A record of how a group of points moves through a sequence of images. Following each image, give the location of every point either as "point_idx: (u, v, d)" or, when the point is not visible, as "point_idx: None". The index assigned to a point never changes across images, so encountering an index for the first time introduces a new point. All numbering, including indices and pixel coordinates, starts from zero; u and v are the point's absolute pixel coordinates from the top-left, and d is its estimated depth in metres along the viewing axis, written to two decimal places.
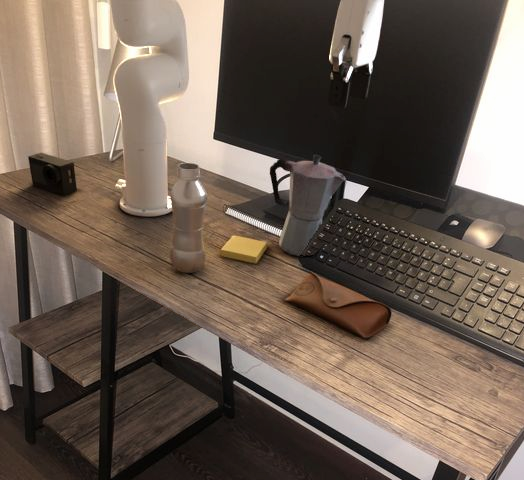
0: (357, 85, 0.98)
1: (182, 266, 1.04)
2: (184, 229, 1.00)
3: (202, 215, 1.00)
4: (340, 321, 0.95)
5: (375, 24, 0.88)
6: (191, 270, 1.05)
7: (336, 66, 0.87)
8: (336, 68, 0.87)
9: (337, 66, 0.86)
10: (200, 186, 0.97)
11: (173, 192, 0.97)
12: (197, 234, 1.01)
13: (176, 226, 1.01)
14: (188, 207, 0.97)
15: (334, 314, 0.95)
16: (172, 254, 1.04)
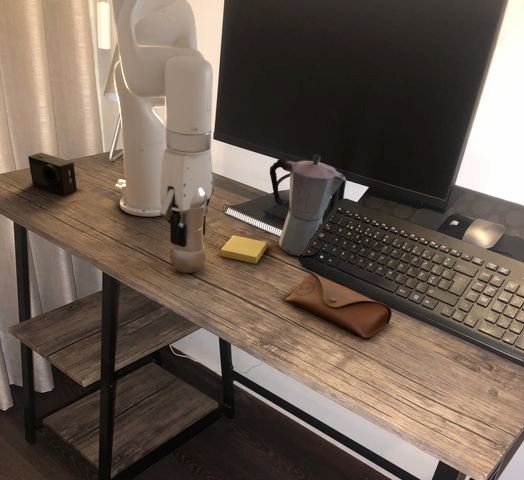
0: None
1: (182, 266, 1.04)
2: None
3: (202, 215, 1.00)
4: (340, 321, 0.95)
5: (200, 173, 0.96)
6: (191, 270, 1.05)
7: (168, 219, 0.96)
8: (169, 219, 0.96)
9: (168, 219, 0.96)
10: None
11: None
12: (197, 234, 1.01)
13: None
14: None
15: (334, 314, 0.95)
16: (172, 254, 1.04)
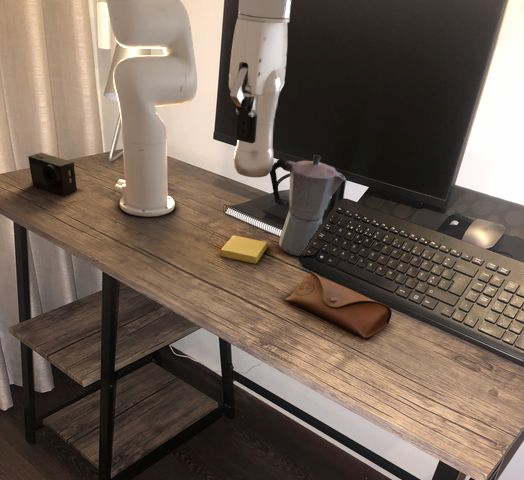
0: None
1: (248, 169, 0.91)
2: None
3: (275, 105, 0.87)
4: (340, 321, 0.95)
5: (276, 50, 0.82)
6: (258, 174, 0.91)
7: (238, 104, 0.83)
8: (239, 105, 0.83)
9: (239, 104, 0.83)
10: None
11: None
12: (267, 128, 0.88)
13: None
14: None
15: (334, 314, 0.95)
16: (237, 155, 0.91)
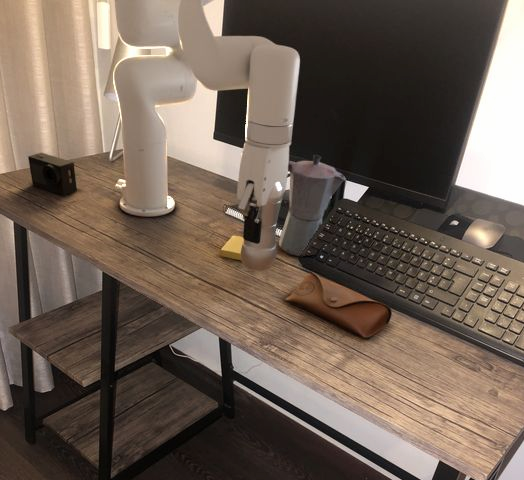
0: None
1: (254, 264, 1.01)
2: None
3: (278, 211, 0.96)
4: (340, 321, 0.95)
5: (279, 167, 0.92)
6: (263, 268, 1.01)
7: (245, 214, 0.93)
8: (246, 215, 0.93)
9: (246, 214, 0.92)
10: None
11: None
12: (271, 230, 0.98)
13: None
14: None
15: (334, 314, 0.95)
16: (243, 251, 1.01)
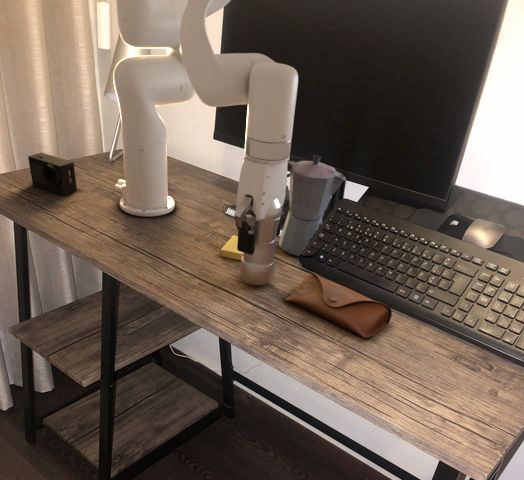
0: None
1: (253, 279, 1.02)
2: (258, 241, 0.98)
3: (276, 227, 0.98)
4: (340, 321, 0.95)
5: (278, 181, 0.94)
6: (261, 283, 1.03)
7: (239, 224, 0.92)
8: (239, 225, 0.92)
9: (240, 224, 0.92)
10: None
11: None
12: (270, 246, 1.00)
13: None
14: (264, 220, 0.96)
15: (334, 314, 0.96)
16: (243, 266, 1.02)
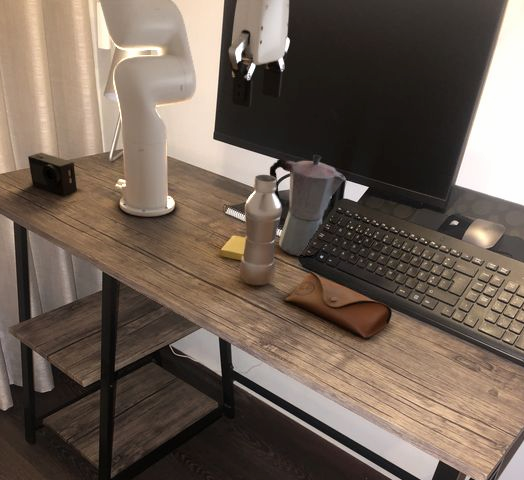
0: (269, 83, 0.94)
1: (253, 279, 1.02)
2: (257, 241, 0.98)
3: (276, 227, 0.98)
4: (340, 321, 0.95)
5: (278, 19, 0.84)
6: (261, 283, 1.03)
7: (234, 63, 0.83)
8: (235, 65, 0.83)
9: (235, 63, 0.82)
10: (276, 198, 0.96)
11: (249, 204, 0.95)
12: (270, 246, 1.00)
13: (249, 238, 0.99)
14: (264, 220, 0.96)
15: (334, 314, 0.96)
16: (243, 266, 1.02)
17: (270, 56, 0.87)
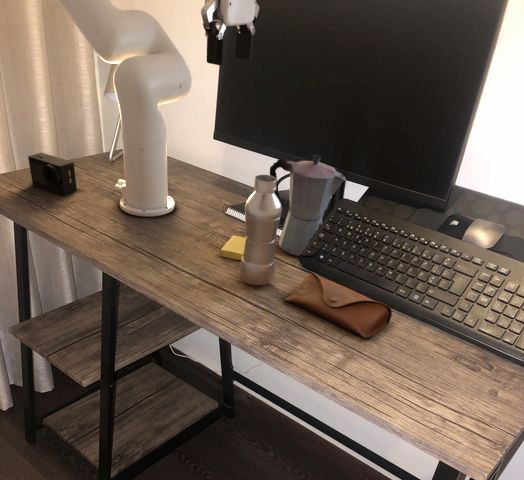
0: (241, 46, 1.03)
1: (253, 279, 1.02)
2: (257, 241, 0.98)
3: (276, 227, 0.98)
4: (340, 321, 0.95)
5: None
6: (261, 283, 1.03)
7: (206, 23, 0.91)
8: (207, 25, 0.92)
9: (207, 23, 0.91)
10: (276, 198, 0.96)
11: (249, 204, 0.95)
12: (270, 246, 1.00)
13: (249, 238, 0.99)
14: (264, 220, 0.96)
15: (334, 314, 0.96)
16: (243, 266, 1.02)
17: (240, 18, 0.95)
